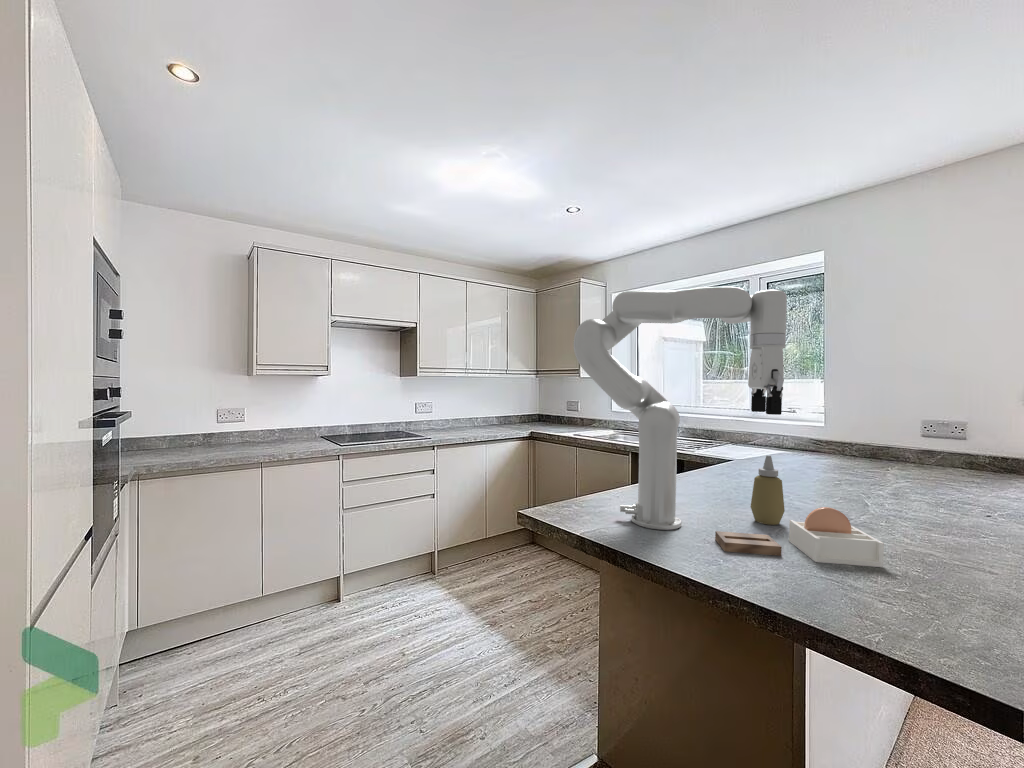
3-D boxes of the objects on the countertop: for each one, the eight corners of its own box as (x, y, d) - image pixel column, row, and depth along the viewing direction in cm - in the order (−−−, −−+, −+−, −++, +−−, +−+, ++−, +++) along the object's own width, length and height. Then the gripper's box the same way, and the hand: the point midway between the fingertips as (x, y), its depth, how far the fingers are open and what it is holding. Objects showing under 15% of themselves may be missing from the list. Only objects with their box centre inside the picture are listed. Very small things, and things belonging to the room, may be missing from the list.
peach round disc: (839, 556, 102) (859, 520, 101) (799, 536, 103) (818, 501, 103) (836, 554, 103) (856, 519, 102) (796, 534, 104) (816, 499, 104)
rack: (815, 561, 97) (815, 538, 97) (788, 540, 110) (789, 520, 110) (883, 567, 95) (883, 543, 95) (848, 545, 108) (848, 524, 108)
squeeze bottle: (775, 518, 128) (777, 454, 128) (790, 527, 120) (792, 458, 120) (745, 517, 129) (747, 453, 129) (757, 526, 121) (759, 457, 121)
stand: (724, 551, 102) (724, 542, 102) (715, 539, 110) (715, 531, 110) (781, 555, 100) (781, 546, 100) (767, 543, 108) (767, 534, 108)
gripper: (739, 345, 121) (737, 410, 121) (764, 339, 104) (762, 415, 104) (770, 345, 119) (768, 411, 120) (800, 339, 102) (798, 416, 103)
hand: (765, 413), depth 112 cm, fingers open, 9 cm apart
